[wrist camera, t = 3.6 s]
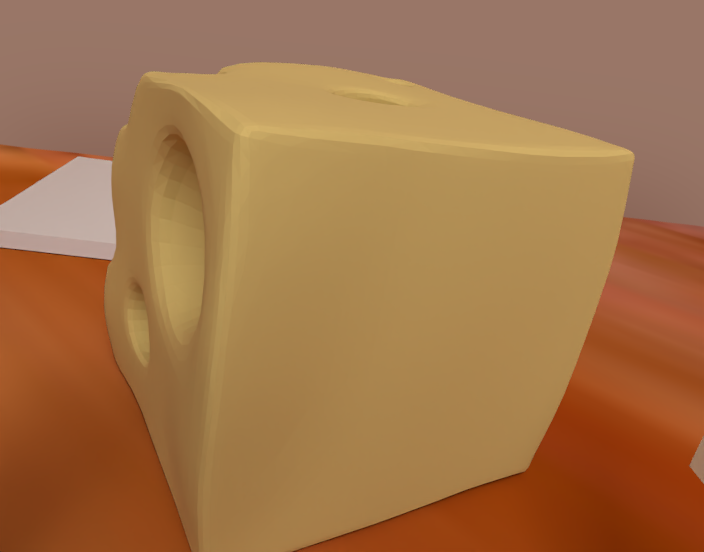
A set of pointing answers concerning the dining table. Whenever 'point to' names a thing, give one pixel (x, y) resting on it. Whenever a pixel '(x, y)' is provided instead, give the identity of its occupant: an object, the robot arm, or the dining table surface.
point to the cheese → (346, 292)
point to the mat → (64, 212)
